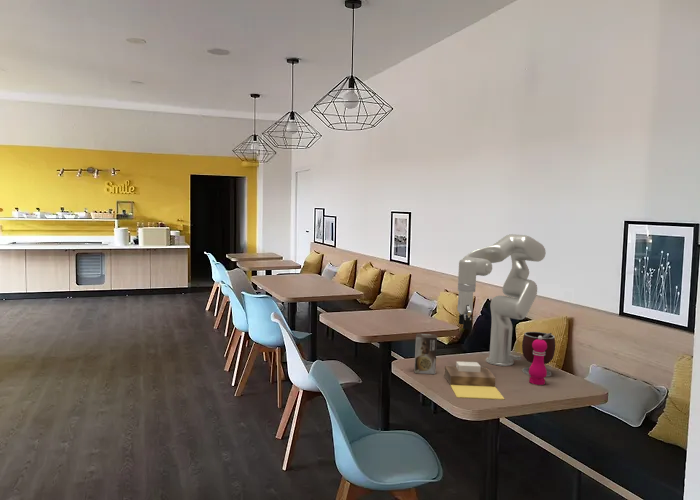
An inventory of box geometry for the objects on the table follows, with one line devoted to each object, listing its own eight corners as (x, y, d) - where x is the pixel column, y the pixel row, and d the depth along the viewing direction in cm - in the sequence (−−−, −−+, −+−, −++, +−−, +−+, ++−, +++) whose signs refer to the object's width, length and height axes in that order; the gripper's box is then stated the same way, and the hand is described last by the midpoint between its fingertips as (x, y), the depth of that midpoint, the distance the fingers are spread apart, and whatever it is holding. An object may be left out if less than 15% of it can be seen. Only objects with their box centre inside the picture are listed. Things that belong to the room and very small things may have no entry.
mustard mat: (494, 387, 222) (495, 386, 222) (504, 399, 208) (504, 398, 208) (450, 385, 222) (450, 384, 222) (456, 397, 208) (457, 396, 208)
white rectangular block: (477, 368, 235) (477, 362, 235) (480, 372, 229) (480, 366, 229) (455, 367, 235) (456, 361, 235) (458, 371, 229) (459, 365, 229)
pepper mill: (529, 378, 236) (532, 333, 234) (547, 381, 233) (550, 335, 231) (526, 383, 230) (530, 336, 228) (545, 386, 226) (548, 338, 225)
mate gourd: (514, 368, 251) (517, 325, 249) (541, 367, 254) (544, 325, 253) (533, 379, 236) (536, 333, 234) (561, 378, 239) (565, 332, 238)
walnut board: (486, 377, 236) (487, 367, 236) (494, 387, 222) (495, 377, 222) (444, 375, 236) (445, 366, 236) (450, 385, 222) (450, 376, 222)
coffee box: (434, 370, 243) (436, 334, 242) (435, 374, 237) (437, 337, 235) (413, 368, 244) (415, 332, 243) (414, 373, 237) (416, 336, 236)
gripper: (454, 284, 247) (452, 322, 249) (461, 290, 230) (459, 330, 232) (471, 285, 247) (469, 322, 249) (479, 291, 230) (477, 331, 232)
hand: (464, 326), depth 240 cm, fingers open, 9 cm apart
